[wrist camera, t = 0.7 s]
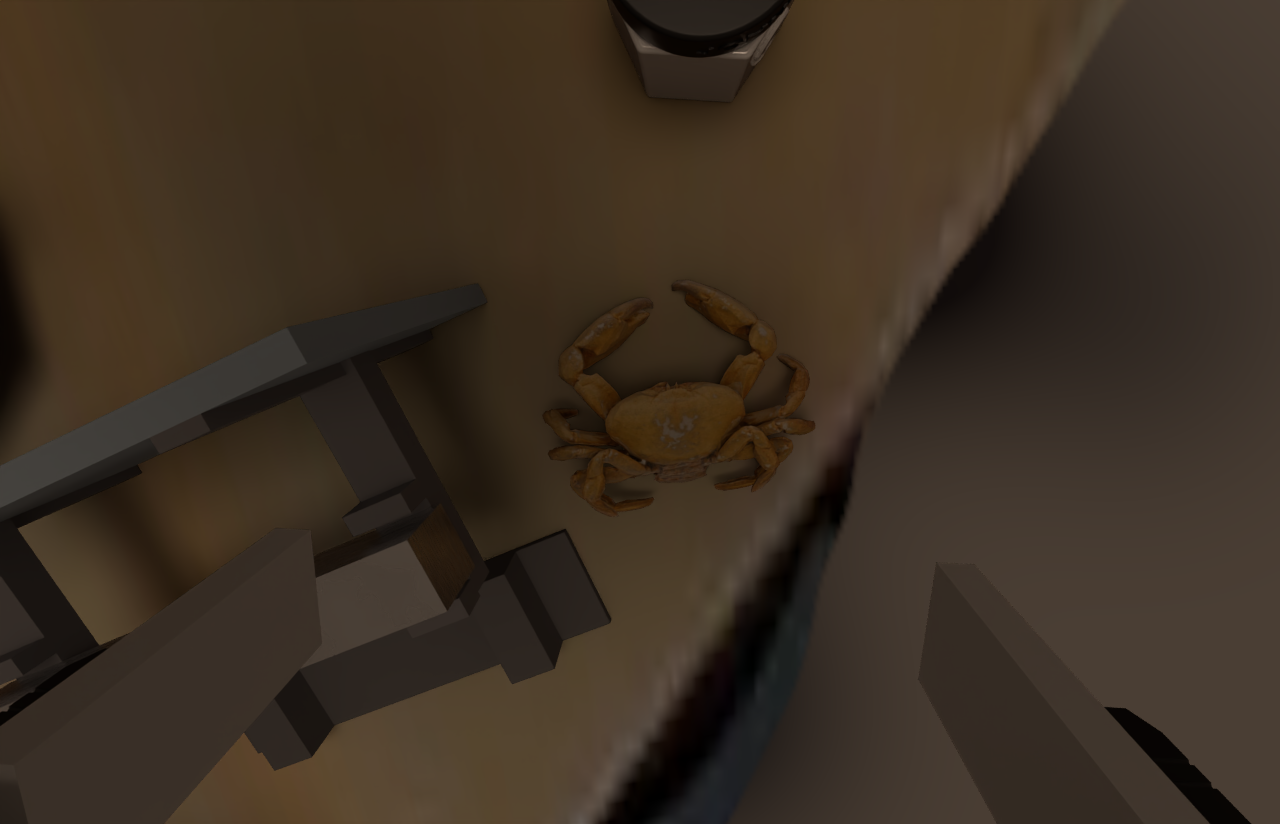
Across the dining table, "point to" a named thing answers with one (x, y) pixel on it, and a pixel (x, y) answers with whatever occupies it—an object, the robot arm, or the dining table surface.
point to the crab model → (675, 408)
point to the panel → (210, 400)
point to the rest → (441, 649)
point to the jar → (697, 43)
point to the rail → (359, 588)
